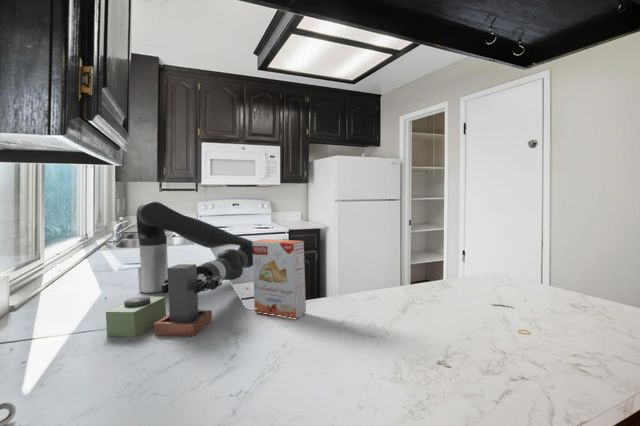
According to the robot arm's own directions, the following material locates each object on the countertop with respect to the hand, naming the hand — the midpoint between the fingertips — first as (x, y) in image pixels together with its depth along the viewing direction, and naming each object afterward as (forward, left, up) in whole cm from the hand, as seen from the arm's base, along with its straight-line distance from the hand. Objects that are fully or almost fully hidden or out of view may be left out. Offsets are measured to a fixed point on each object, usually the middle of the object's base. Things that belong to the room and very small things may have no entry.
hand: (178, 289), depth 84 cm
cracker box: (+22, +14, -11) cm, 28 cm away
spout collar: (0, +2, -10) cm, 11 cm away
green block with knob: (-13, +2, -10) cm, 17 cm away
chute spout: (0, +2, -10) cm, 11 cm away
